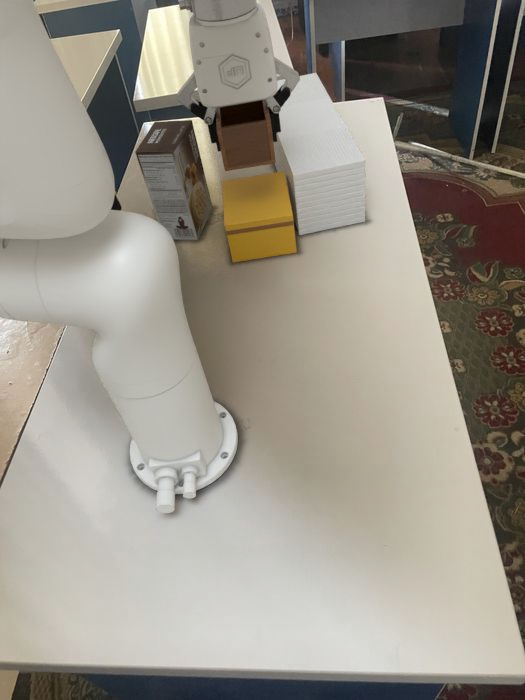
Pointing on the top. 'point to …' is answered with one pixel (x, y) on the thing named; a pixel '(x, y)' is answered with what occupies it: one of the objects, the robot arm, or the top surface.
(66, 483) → the top surface
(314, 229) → the stack of papers
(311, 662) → the top surface
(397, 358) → the top surface
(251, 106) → the wooden box
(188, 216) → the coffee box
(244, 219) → the box
